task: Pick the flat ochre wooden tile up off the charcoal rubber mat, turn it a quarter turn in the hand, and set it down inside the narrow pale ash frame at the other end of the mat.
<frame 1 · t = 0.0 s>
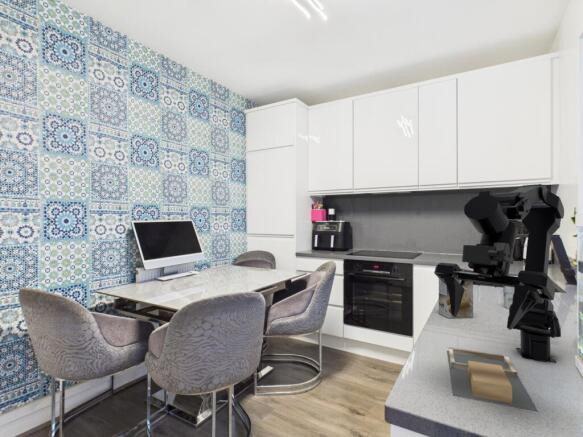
hand: (479, 322, 57), 15 cm above the counter, tool tilted 35°, fingers open, 9 cm apart
coffee box: (455, 316, 109), on the counter
ink box: (518, 309, 117), on the counter
mat: (483, 377, 66), on the counter
frame: (479, 364, 71), resting on mat
tile: (488, 387, 61), resting on mat
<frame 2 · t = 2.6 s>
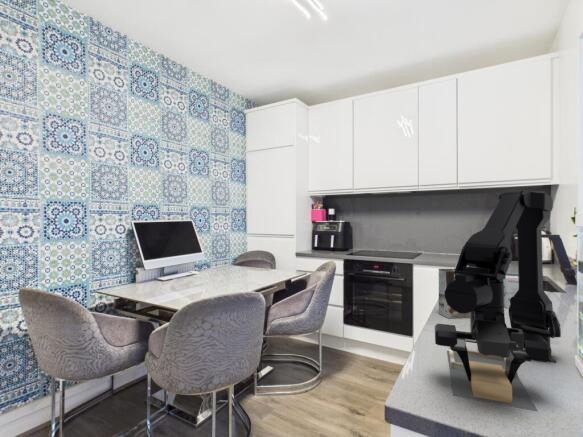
hand: (488, 383, 61), 1 cm above the counter, tool pointing down, fingers closed on tile, 6 cm apart
tile: (488, 387, 61), point 1 cm above the counter, touching gripper, mat
everything else where it was.
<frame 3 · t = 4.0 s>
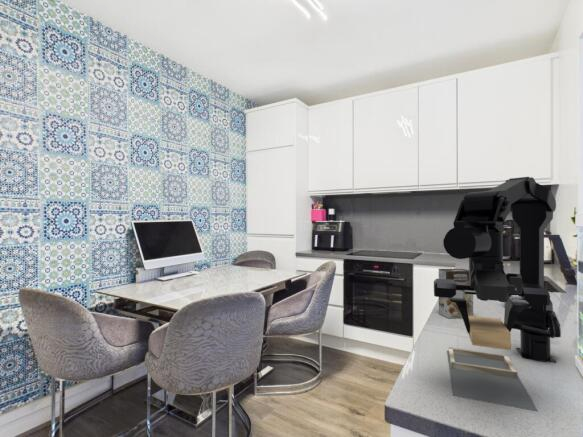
hand: (487, 334, 61), 11 cm above the counter, tool pointing down, fingers closed on tile, 6 cm apart
tile: (487, 339, 61), point 10 cm above the counter, touching gripper
everything else where it was.
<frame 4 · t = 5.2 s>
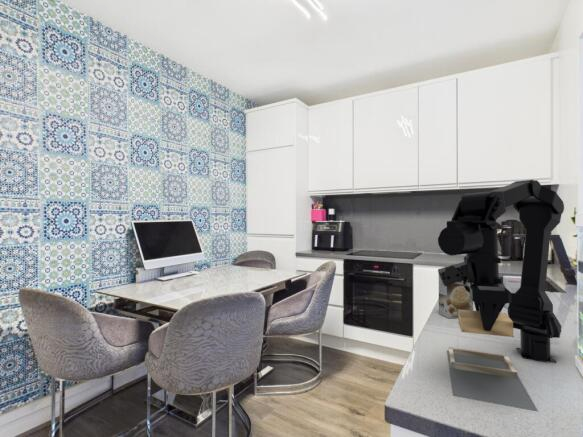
hand: (484, 325, 66), 11 cm above the counter, tool pointing down, fingers closed on tile, 6 cm apart
tile: (484, 329, 66), point 10 cm above the counter, touching gripper
everything else where it was.
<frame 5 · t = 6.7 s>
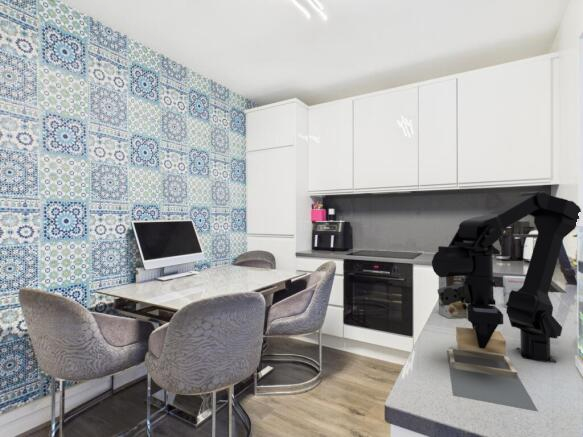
hand: (479, 342, 71), 5 cm above the counter, tool pointing down, fingers closed on tile, 6 cm apart
tile: (479, 346, 71), point 5 cm above the counter, touching gripper
everything else where it was.
when the fingers open (3 cm above the counter, at t = 8.1 s): tile drops 1 cm, resting on mat.
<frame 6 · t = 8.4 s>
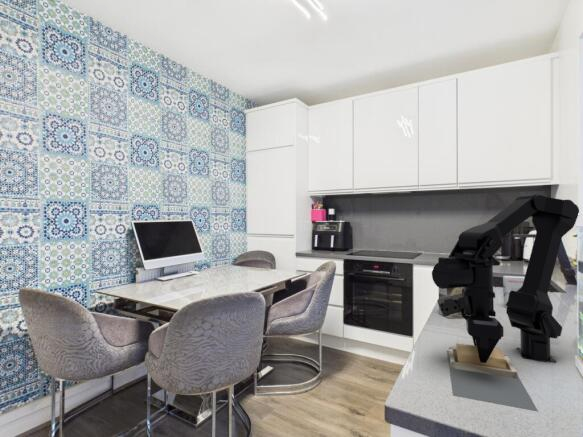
hand: (479, 354, 71), 3 cm above the counter, tool pointing down, fingers open, 9 cm apart
tile: (479, 364, 71), resting on mat
everything else where it was.
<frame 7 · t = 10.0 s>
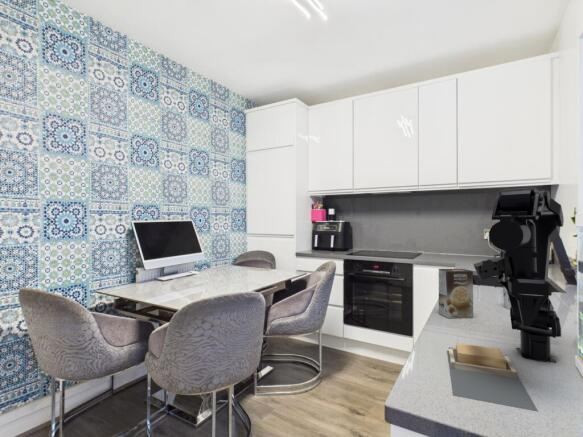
hand: (520, 319, 67), 12 cm above the counter, tool pointing down, fingers open, 9 cm apart
nothing on the counter moved.
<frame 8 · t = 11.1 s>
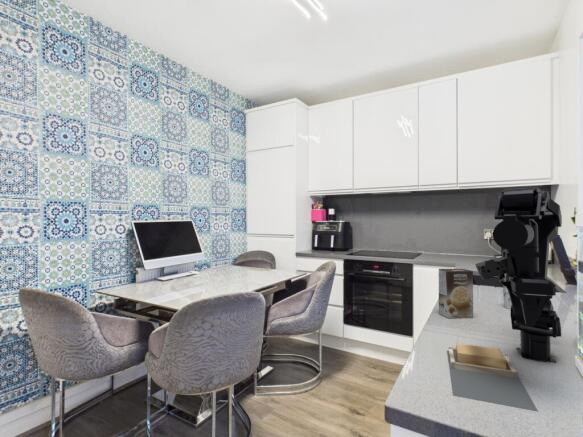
hand: (523, 319, 67), 12 cm above the counter, tool pointing down, fingers open, 9 cm apart
nothing on the counter moved.
at the end: tile 0.0 cm from the target spot, point 0.5 cm above the counter; tile tilted 0°; the gripper is holding nothing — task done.
